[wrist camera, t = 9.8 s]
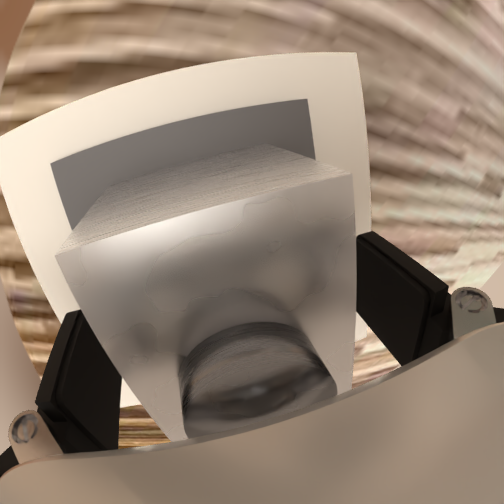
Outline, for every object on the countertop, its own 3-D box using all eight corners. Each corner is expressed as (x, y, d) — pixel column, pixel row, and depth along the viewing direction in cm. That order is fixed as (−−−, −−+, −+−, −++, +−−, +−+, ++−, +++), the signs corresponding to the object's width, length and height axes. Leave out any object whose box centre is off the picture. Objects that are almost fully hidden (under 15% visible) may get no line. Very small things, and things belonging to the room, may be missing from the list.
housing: (266, 143, 11) (395, 191, 5) (295, 327, 15) (364, 446, 9) (109, 185, 10) (28, 294, 4) (179, 361, 14) (200, 498, 8)
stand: (290, 70, 18) (363, 50, 10) (316, 276, 25) (371, 342, 17) (52, 130, 15) (-18, 144, 8) (126, 329, 23) (118, 415, 15)
